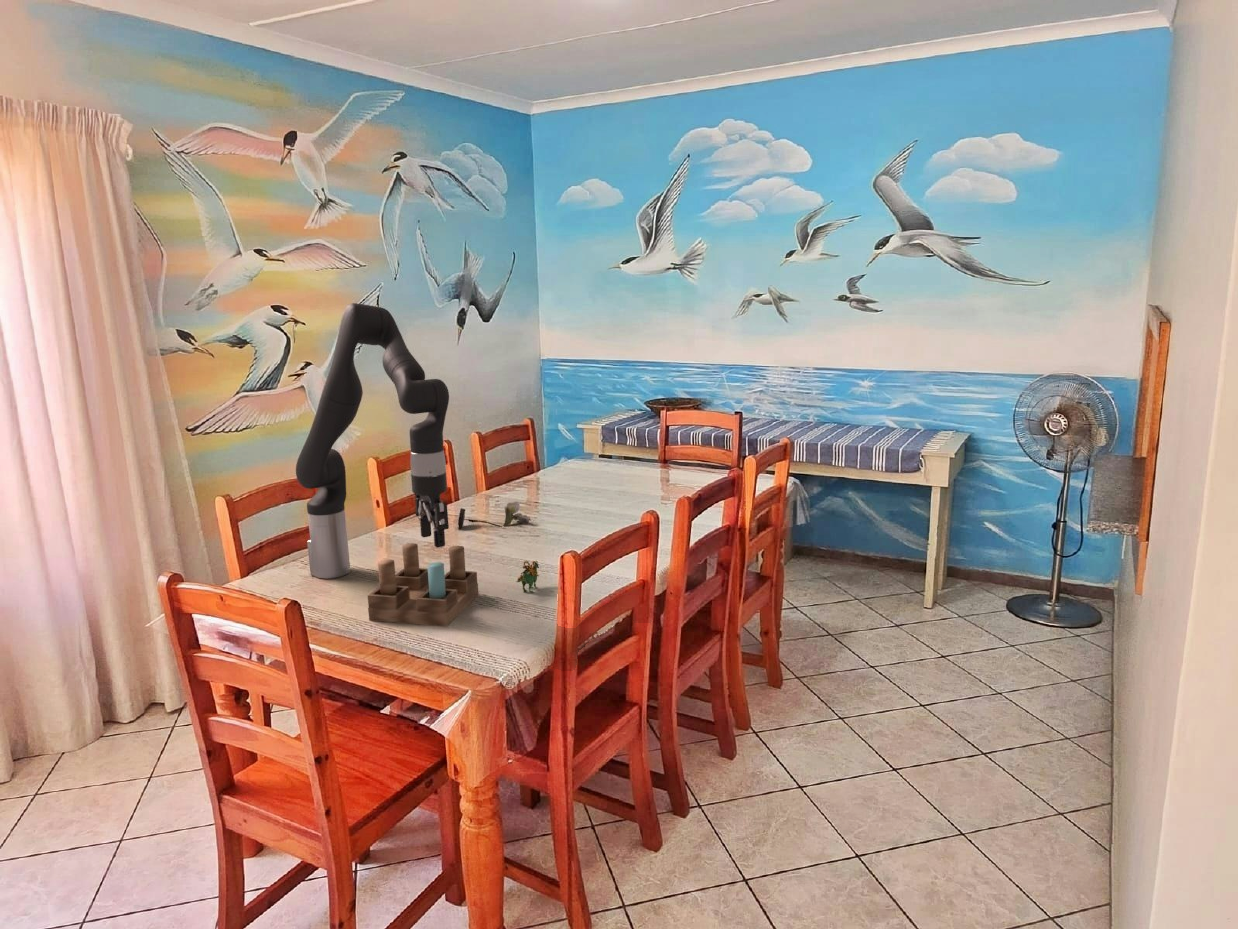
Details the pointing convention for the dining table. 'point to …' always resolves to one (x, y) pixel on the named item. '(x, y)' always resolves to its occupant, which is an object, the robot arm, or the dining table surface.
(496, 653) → the dining table surface
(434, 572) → the loose leg
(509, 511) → the artificial flower
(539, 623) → the dining table surface
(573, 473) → the dining table surface
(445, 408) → the robot arm
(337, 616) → the dining table surface
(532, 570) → the figurine
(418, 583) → the stool seat
